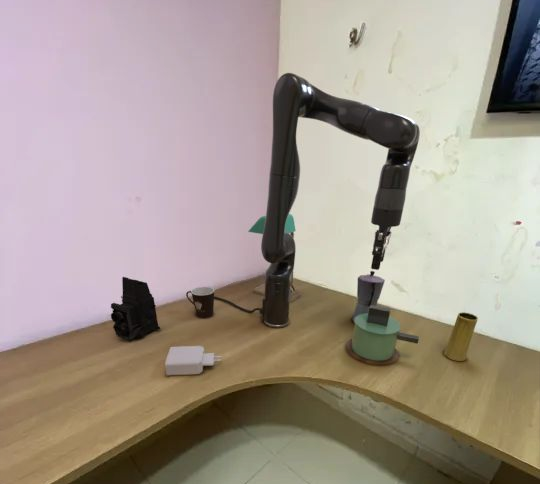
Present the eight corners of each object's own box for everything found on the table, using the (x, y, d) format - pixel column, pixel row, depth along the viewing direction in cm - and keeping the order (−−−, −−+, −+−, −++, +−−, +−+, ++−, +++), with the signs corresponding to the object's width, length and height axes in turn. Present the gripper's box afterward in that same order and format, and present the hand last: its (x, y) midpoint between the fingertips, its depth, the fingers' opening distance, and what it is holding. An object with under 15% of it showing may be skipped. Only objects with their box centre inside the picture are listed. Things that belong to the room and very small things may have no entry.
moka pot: (373, 314, 125) (382, 266, 116) (381, 332, 111) (392, 280, 102) (349, 312, 126) (356, 265, 117) (354, 331, 112) (363, 278, 103)
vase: (463, 353, 100) (477, 313, 94) (467, 363, 95) (482, 322, 89) (442, 349, 102) (454, 310, 96) (445, 359, 97) (458, 318, 90)
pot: (346, 354, 97) (352, 312, 90) (354, 334, 108) (361, 296, 102) (412, 370, 89) (424, 326, 83) (414, 348, 101) (424, 307, 94)
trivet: (339, 354, 98) (339, 353, 97) (355, 334, 110) (355, 332, 110) (391, 372, 90) (392, 370, 90) (402, 347, 102) (403, 346, 102)
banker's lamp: (286, 304, 131) (290, 220, 116) (246, 293, 142) (246, 214, 126) (303, 293, 143) (309, 215, 128) (266, 284, 154) (267, 210, 138)
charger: (221, 375, 87) (166, 377, 86) (222, 356, 96) (172, 358, 94) (220, 361, 85) (164, 363, 84) (221, 343, 94) (171, 345, 92)
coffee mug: (220, 315, 121) (218, 291, 117) (200, 321, 116) (198, 297, 112) (205, 305, 129) (203, 283, 125) (186, 311, 124) (183, 287, 120)
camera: (110, 339, 103) (96, 282, 94) (142, 323, 114) (132, 270, 105) (131, 347, 99) (119, 289, 90) (162, 329, 110) (154, 275, 101)
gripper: (377, 202, 89) (367, 257, 96) (369, 208, 78) (359, 269, 85) (405, 204, 87) (393, 260, 94) (401, 210, 75) (388, 274, 82)
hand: (377, 265), depth 89 cm, fingers open, 8 cm apart
